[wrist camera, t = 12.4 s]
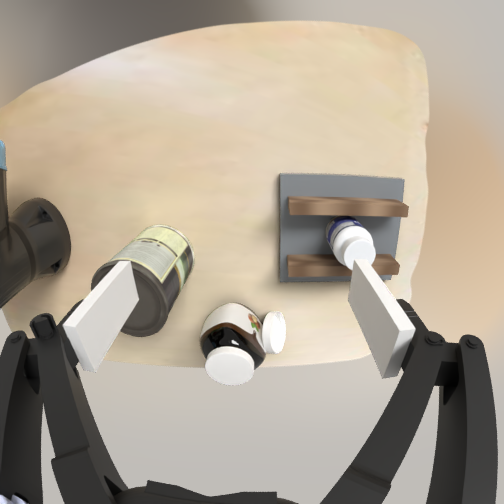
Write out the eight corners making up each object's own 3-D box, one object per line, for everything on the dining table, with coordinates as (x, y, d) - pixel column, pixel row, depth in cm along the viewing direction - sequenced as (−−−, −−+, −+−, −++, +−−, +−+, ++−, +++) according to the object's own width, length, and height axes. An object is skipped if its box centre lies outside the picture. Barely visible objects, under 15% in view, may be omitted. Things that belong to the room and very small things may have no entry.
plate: (279, 278, 44) (279, 282, 43) (280, 173, 38) (280, 174, 37) (388, 276, 43) (390, 279, 42) (401, 178, 37) (404, 179, 36)
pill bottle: (365, 236, 40) (387, 262, 31) (335, 255, 41) (350, 284, 33) (349, 206, 38) (369, 226, 30) (318, 225, 39) (330, 250, 31)
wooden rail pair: (287, 264, 42) (288, 276, 38) (287, 196, 38) (290, 203, 34) (388, 262, 41) (398, 274, 37) (396, 199, 37) (408, 206, 33)
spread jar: (200, 313, 48) (184, 359, 37) (251, 277, 44) (246, 322, 34) (246, 354, 51) (241, 403, 40) (297, 325, 48) (302, 374, 37)
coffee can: (207, 270, 44) (184, 324, 31) (156, 291, 47) (122, 344, 34) (174, 212, 41) (134, 248, 28) (123, 240, 43) (76, 281, 30)
